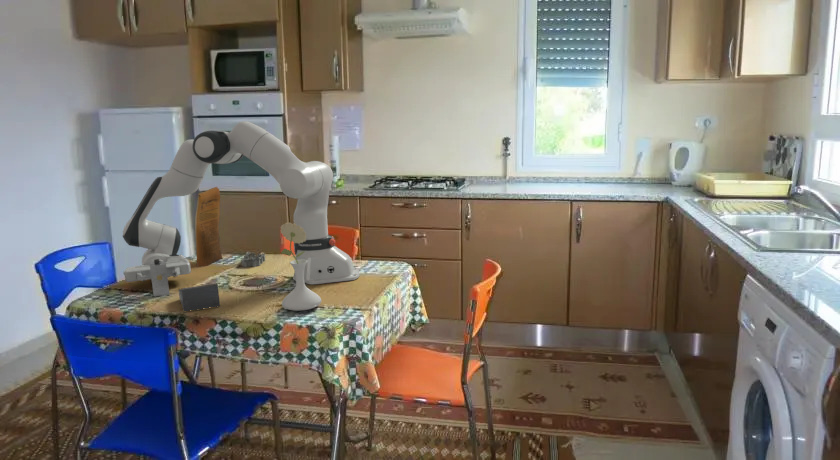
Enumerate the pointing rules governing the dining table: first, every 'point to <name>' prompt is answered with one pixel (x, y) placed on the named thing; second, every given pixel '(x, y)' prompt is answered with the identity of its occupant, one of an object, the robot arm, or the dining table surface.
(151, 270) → the block
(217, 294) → the block
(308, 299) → the flower in vase
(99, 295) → the dining table surface
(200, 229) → the pancake mix bag
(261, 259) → the grey building model
